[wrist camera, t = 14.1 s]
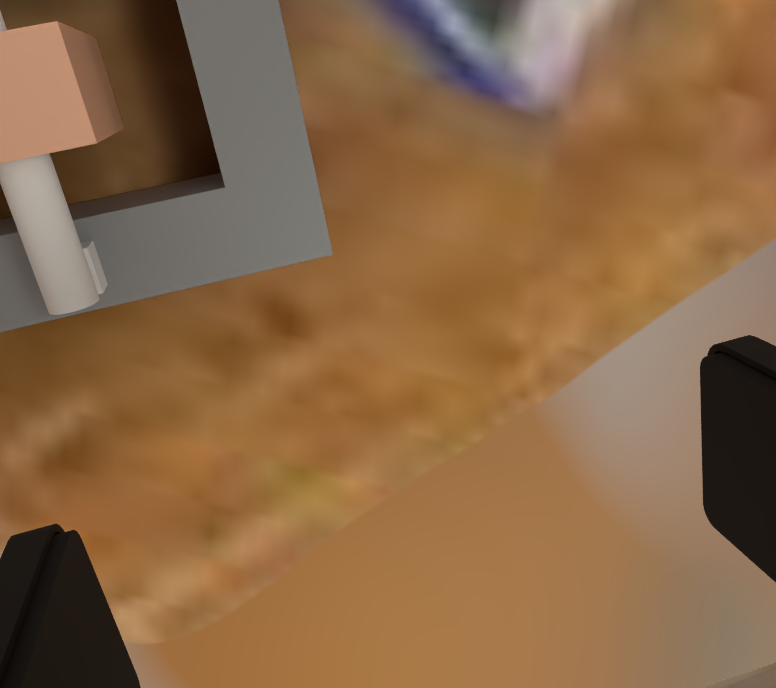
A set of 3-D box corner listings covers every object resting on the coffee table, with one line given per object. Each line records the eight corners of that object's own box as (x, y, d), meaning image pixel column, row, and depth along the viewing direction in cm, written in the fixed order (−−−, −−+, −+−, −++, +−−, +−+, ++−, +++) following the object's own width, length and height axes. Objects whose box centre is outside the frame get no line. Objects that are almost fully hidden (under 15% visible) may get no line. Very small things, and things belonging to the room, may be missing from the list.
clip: (96, 37, 33) (57, 20, 24) (124, 128, 34) (96, 143, 26) (-49, 64, 32) (-143, 57, 23) (-13, 156, 34) (-89, 182, 25)
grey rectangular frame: (230, -159, 33) (236, -246, 24) (316, 230, 40) (345, 272, 31) (-306, -79, 30) (-521, -146, 21) (-115, 328, 36) (-219, 406, 28)
